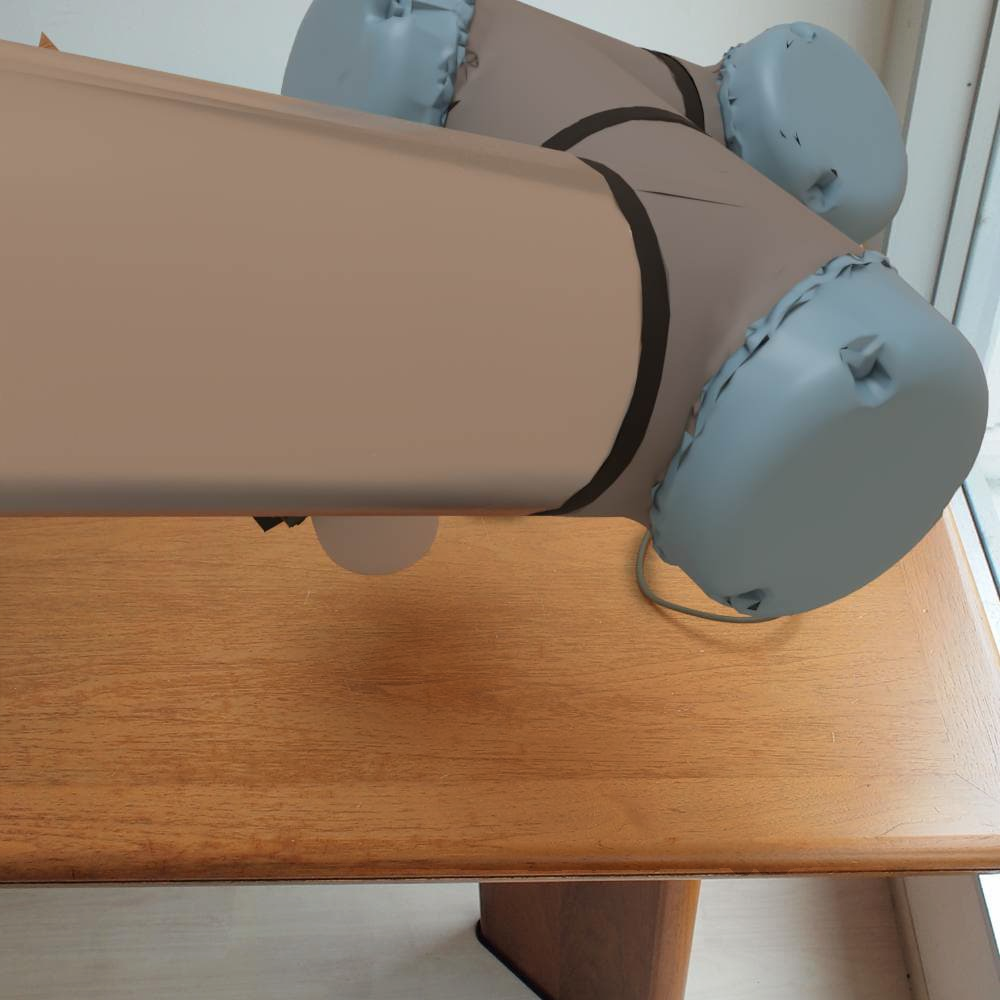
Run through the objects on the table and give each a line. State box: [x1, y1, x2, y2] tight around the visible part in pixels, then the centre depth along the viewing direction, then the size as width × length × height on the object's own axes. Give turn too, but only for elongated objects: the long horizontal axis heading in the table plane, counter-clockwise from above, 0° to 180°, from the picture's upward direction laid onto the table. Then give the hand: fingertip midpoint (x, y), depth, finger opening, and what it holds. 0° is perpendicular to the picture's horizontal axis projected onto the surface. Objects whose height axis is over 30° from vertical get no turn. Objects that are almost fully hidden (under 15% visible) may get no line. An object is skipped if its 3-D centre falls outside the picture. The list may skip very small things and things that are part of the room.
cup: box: [309, 516, 440, 576], centre depth 66 cm, size 11×8×8 cm
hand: (306, 463), depth 68 cm, fingers closed on cup, 8 cm apart
